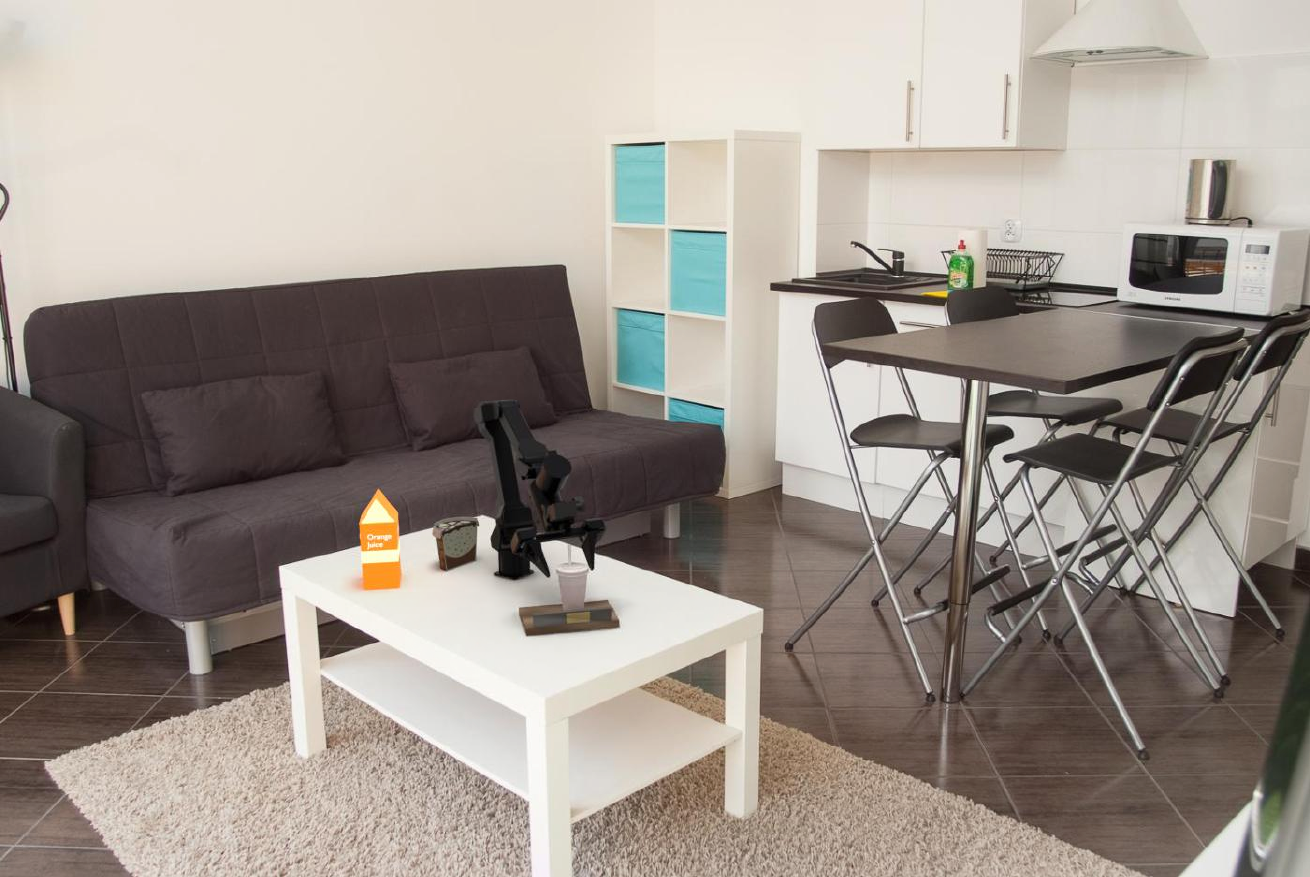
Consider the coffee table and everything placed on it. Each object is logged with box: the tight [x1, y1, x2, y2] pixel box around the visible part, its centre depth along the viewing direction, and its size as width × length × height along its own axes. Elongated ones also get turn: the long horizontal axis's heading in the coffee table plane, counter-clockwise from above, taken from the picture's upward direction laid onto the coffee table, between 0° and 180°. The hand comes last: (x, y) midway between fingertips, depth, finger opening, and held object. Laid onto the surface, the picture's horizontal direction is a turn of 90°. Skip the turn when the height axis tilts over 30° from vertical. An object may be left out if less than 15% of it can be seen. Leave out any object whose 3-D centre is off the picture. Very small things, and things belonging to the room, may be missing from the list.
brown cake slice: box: [431, 516, 480, 572], centre depth 265 cm, size 12×6×10 cm, turn 144°
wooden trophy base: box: [518, 599, 620, 637], centre depth 228 cm, size 12×18×4 cm
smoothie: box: [555, 544, 590, 611], centre depth 226 cm, size 6×6×14 cm
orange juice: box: [358, 488, 402, 591], centre depth 251 cm, size 8×9×20 cm
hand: (571, 573), depth 227 cm, fingers open, 9 cm apart
